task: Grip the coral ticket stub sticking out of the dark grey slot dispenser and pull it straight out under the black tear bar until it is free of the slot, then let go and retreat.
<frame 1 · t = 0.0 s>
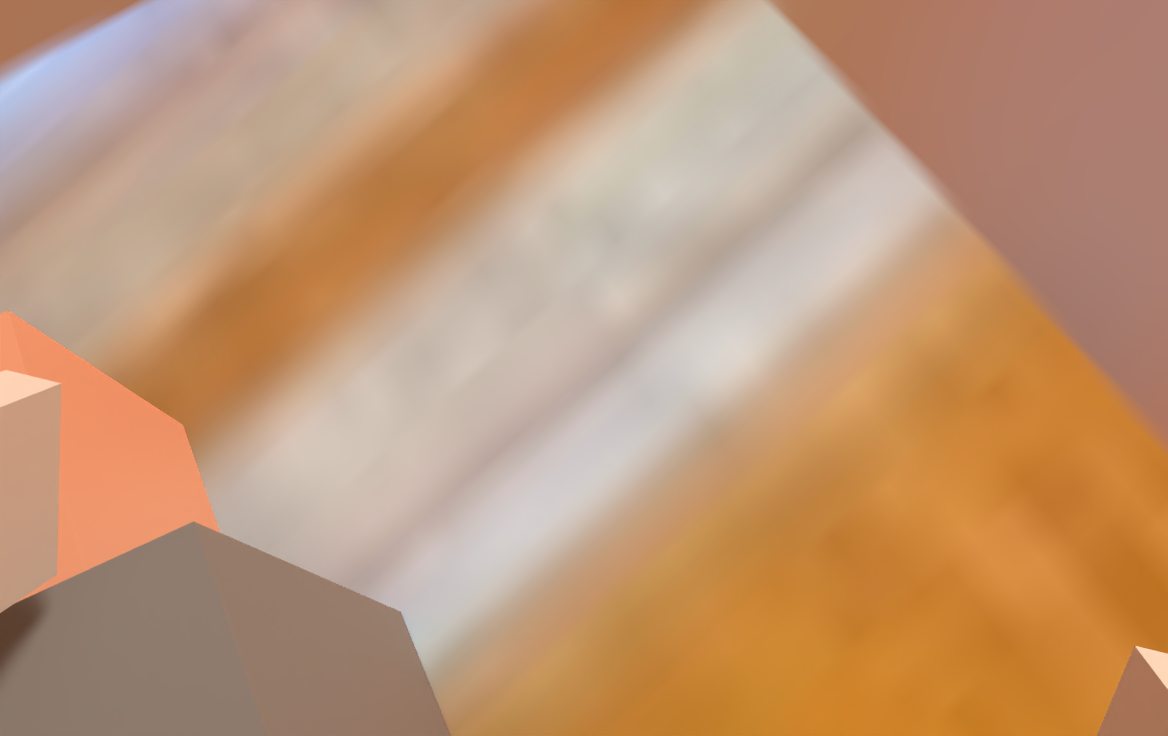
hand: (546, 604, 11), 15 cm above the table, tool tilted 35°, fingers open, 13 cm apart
dispenser: (250, 684, 25), on the table
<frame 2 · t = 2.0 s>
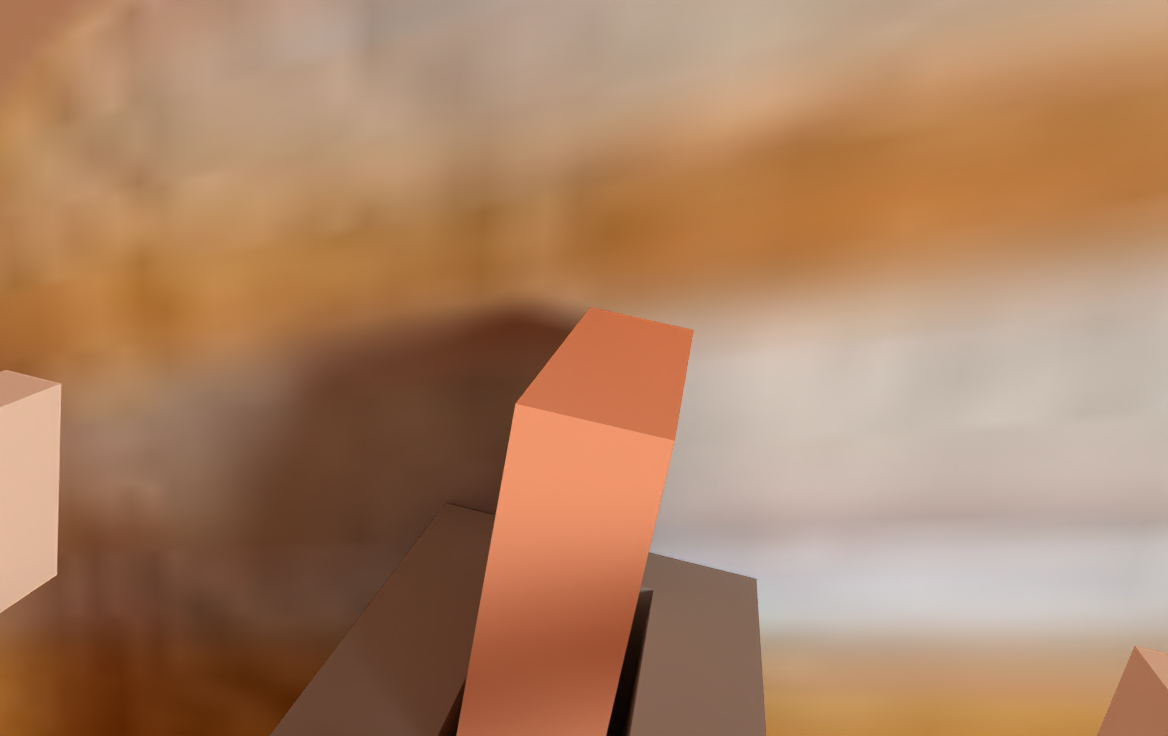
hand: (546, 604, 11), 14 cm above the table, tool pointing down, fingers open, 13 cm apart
dispenser: (598, 540, 26), on the table
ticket: (548, 714, 20), point 6 cm above the table, slide at 0.0 cm
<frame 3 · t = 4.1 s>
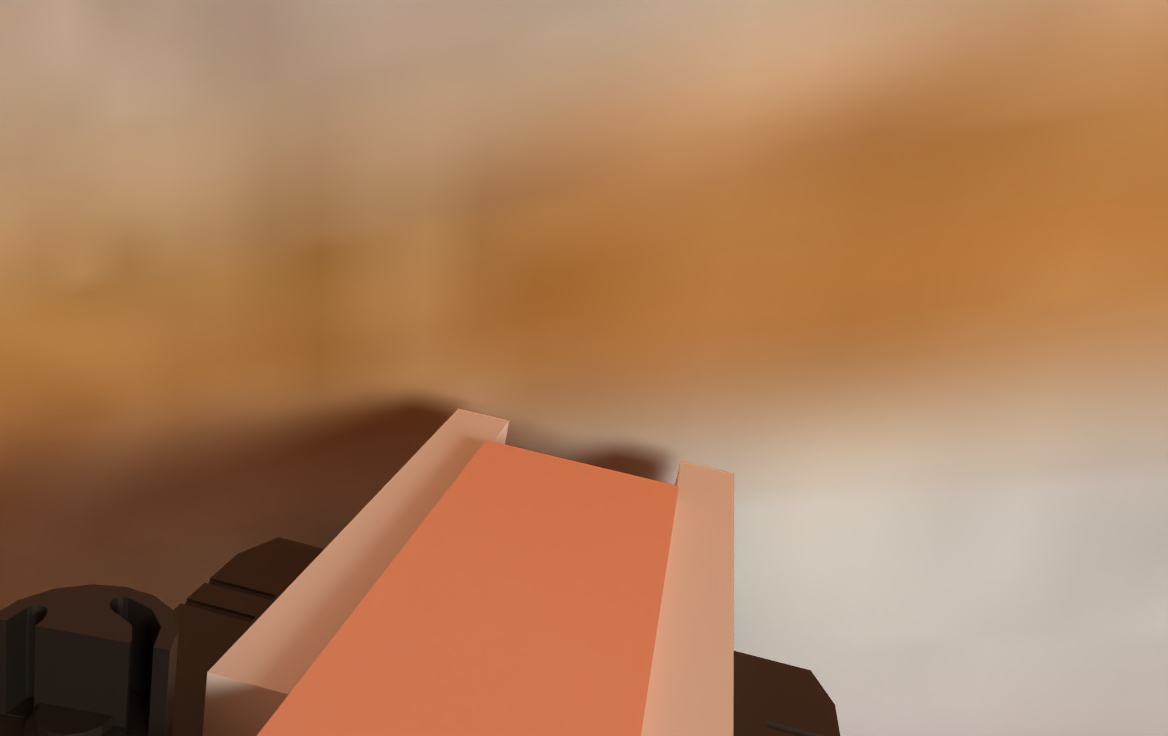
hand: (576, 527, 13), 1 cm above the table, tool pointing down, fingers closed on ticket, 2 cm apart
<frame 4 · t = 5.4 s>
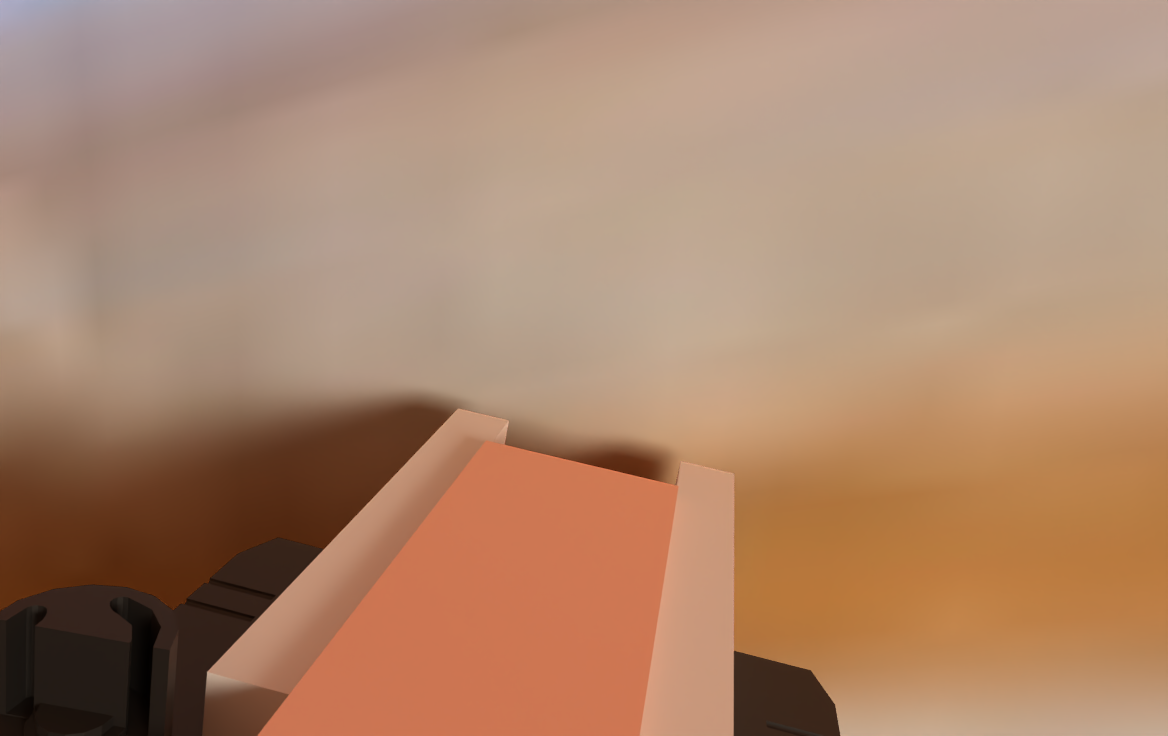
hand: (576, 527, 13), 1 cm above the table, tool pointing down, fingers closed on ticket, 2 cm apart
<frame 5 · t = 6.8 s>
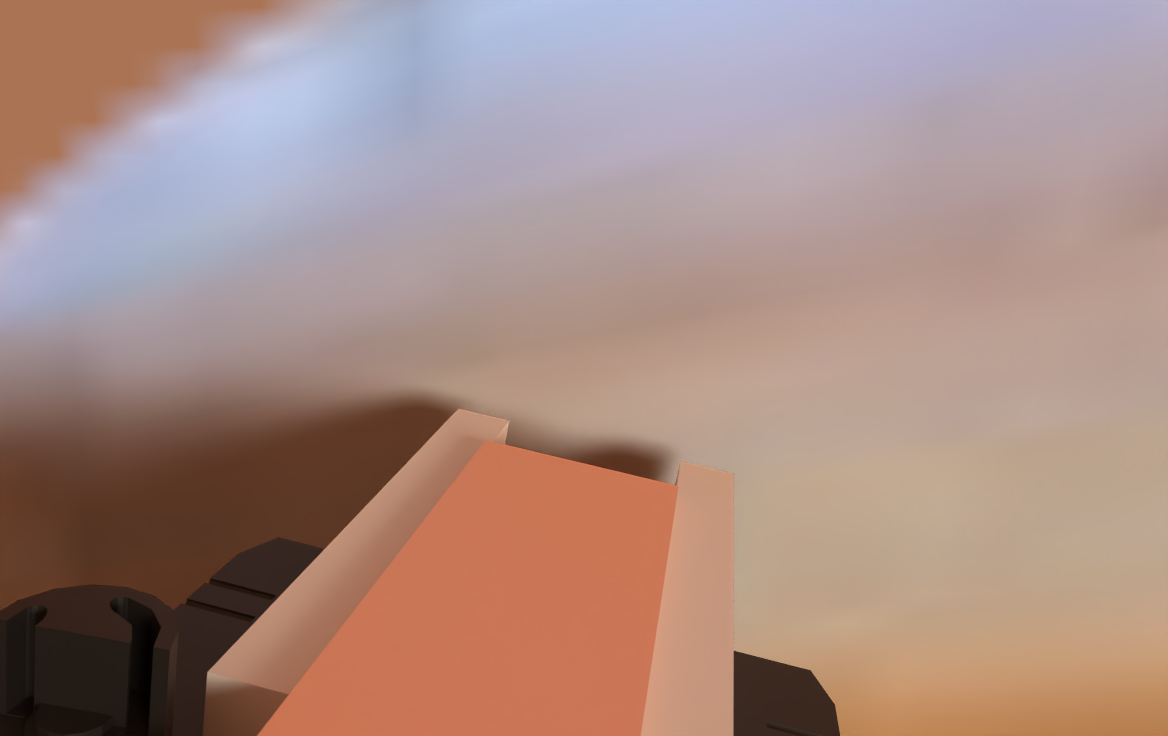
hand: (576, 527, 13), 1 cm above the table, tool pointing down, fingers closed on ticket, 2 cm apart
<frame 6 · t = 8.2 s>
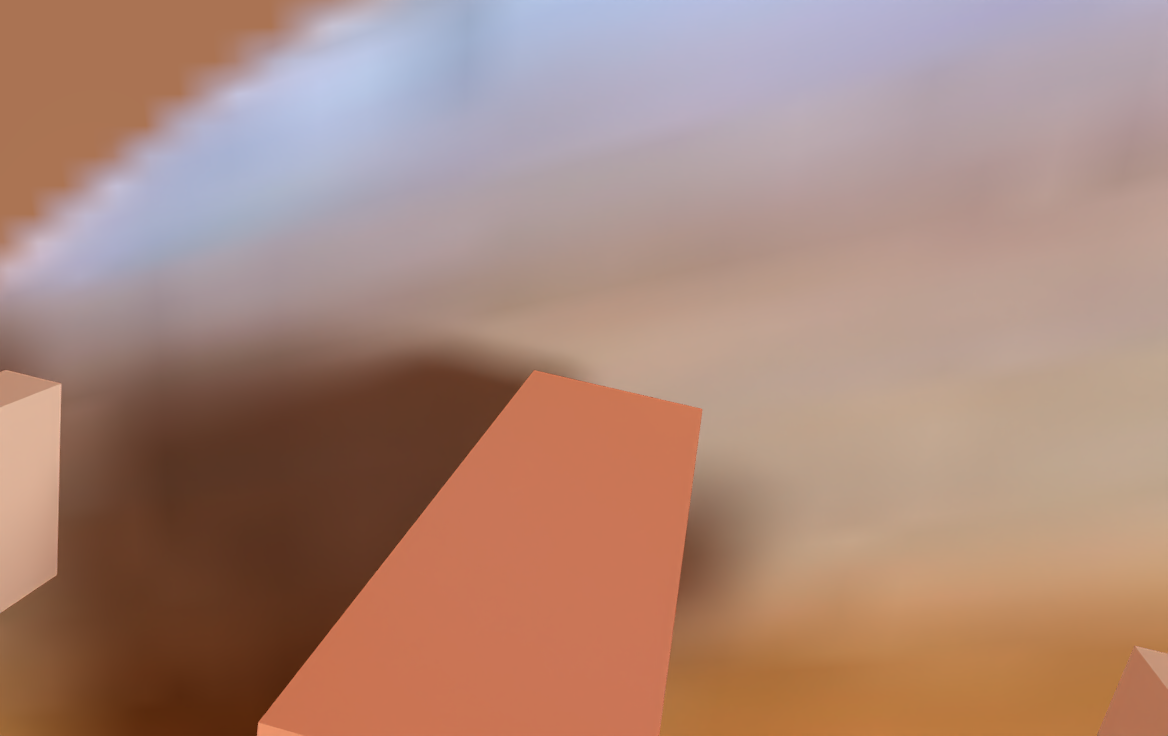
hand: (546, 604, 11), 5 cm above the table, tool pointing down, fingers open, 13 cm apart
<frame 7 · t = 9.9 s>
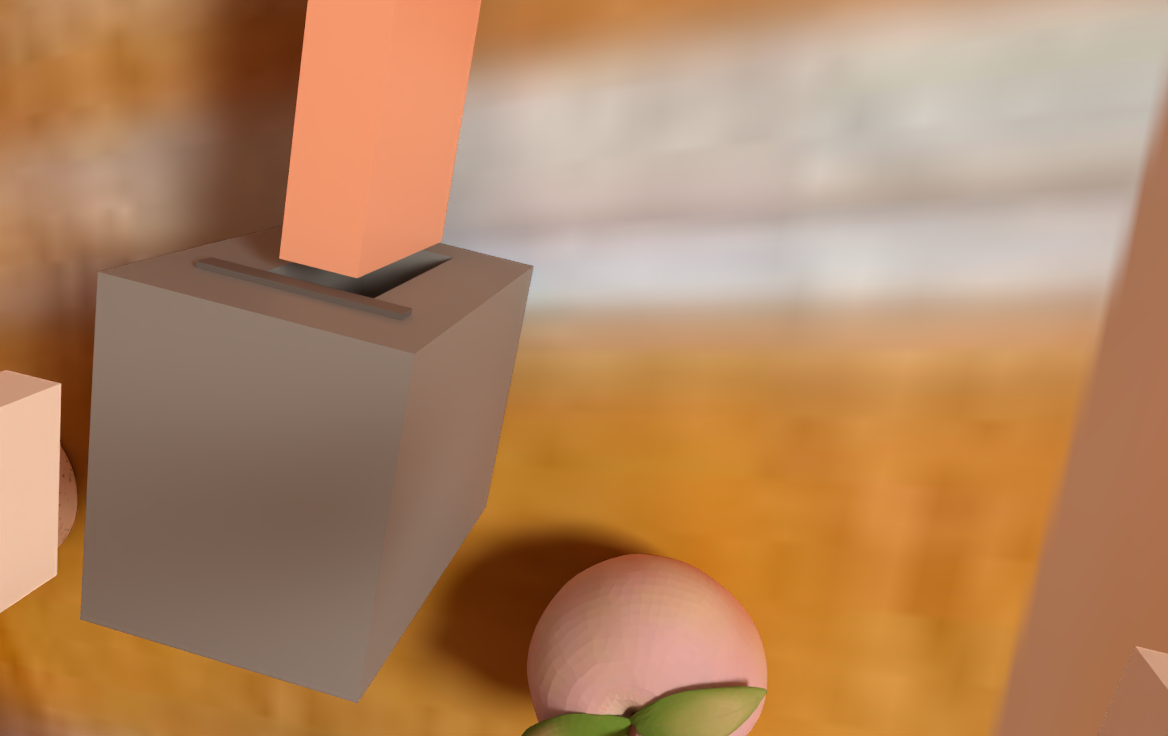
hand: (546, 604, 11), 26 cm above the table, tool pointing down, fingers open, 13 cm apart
dispenser: (428, 240, 37), on the table
decorative fruit: (651, 594, 40), on the table
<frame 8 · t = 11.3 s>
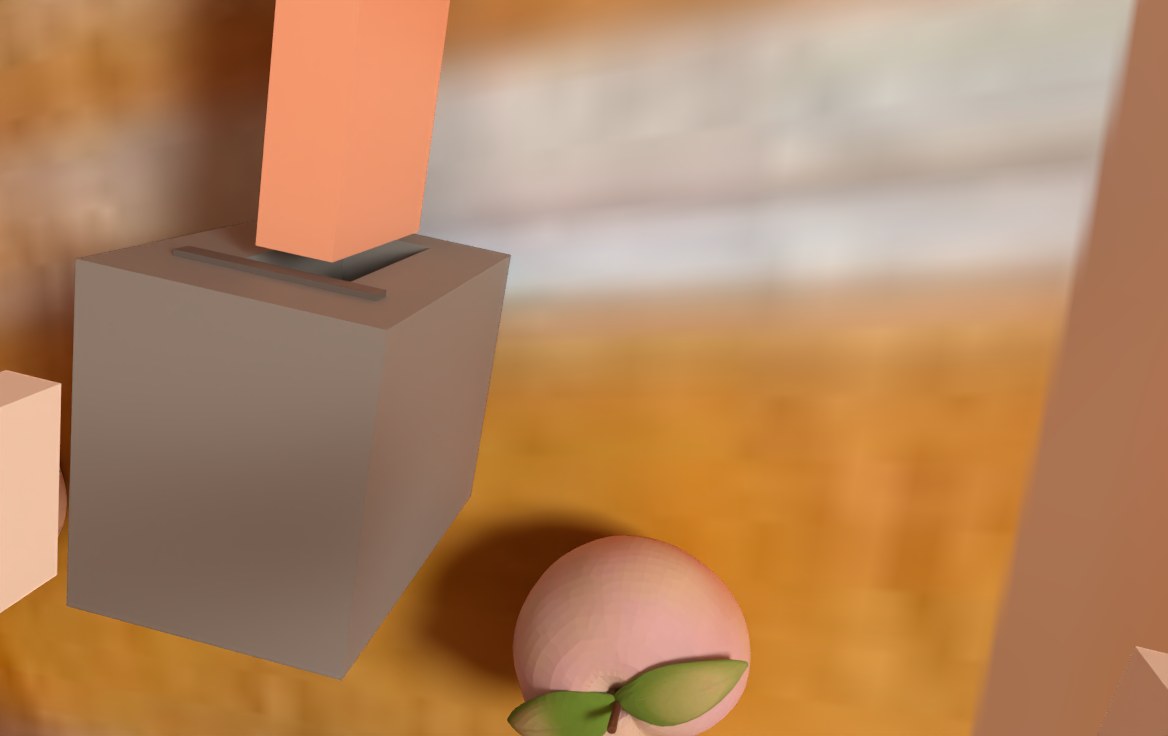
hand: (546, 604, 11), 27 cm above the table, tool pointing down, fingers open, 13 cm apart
dispenser: (406, 232, 38), on the table
decorative fruit: (637, 578, 41), on the table
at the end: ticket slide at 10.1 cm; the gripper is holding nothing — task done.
